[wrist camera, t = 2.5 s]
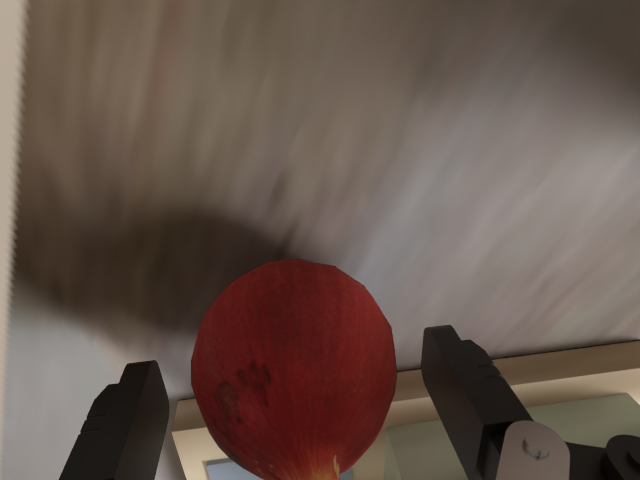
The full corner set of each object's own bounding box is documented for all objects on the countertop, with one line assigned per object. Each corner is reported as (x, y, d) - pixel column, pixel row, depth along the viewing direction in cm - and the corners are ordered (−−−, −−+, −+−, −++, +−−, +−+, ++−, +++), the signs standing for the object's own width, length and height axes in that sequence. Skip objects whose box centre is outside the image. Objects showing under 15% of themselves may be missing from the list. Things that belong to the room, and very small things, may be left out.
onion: (230, 361, 17) (208, 607, 10) (186, 235, 14) (112, 453, 7) (371, 331, 17) (450, 552, 10) (356, 203, 14) (449, 382, 7)
